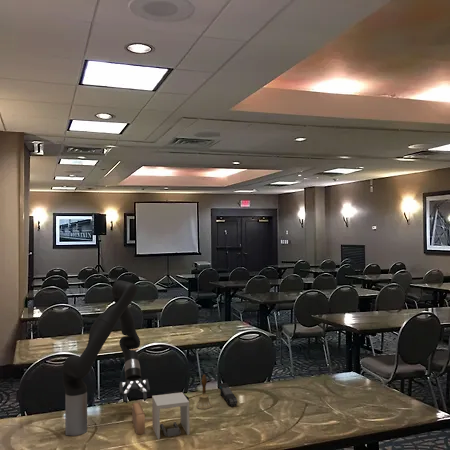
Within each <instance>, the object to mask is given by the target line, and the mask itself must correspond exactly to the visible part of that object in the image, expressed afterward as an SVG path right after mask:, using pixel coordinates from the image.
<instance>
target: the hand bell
mask: <svg viewBox="0 0 450 450" xmlns="http://www.w3.org/2000/svg"><path fill="white" fill-rule="evenodd" d="M206 376H207V375H206V374H202V377H201V386H202V394H201V395H199V399H198V403H197V404H196V405H195V408H197V409H199V410H207V409H211V408H213V404H212V403H211V402H210V397H209V395H208V394H207V393H206V391H207V390H206V388H207V387H206V386H207V382H208V381H207V377H206Z"/></svg>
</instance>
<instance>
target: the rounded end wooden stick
mask: <svg viewBox="0 0 450 450" xmlns="http://www.w3.org/2000/svg"><path fill="white" fill-rule="evenodd" d="M131 406H132V407H131V408H132V409H131V411H132V412H131V413H132V415H131V416H132V417H131V418H132V419H131V420H132V424H133V427H134V430H135V432H136V435H140V436H141V435H144V434H146V426H145V424H146V419H145V418H146V414H145V412H144V409H143V407H142V404H141V402H134V403H131Z"/></svg>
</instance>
